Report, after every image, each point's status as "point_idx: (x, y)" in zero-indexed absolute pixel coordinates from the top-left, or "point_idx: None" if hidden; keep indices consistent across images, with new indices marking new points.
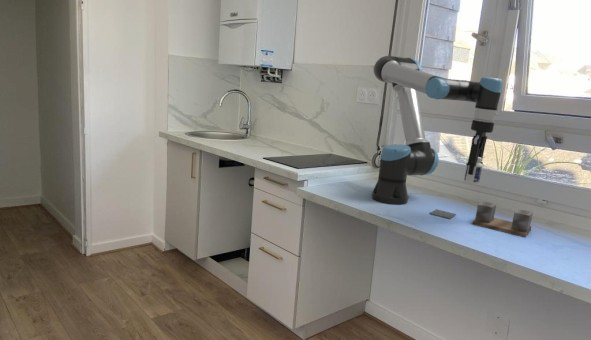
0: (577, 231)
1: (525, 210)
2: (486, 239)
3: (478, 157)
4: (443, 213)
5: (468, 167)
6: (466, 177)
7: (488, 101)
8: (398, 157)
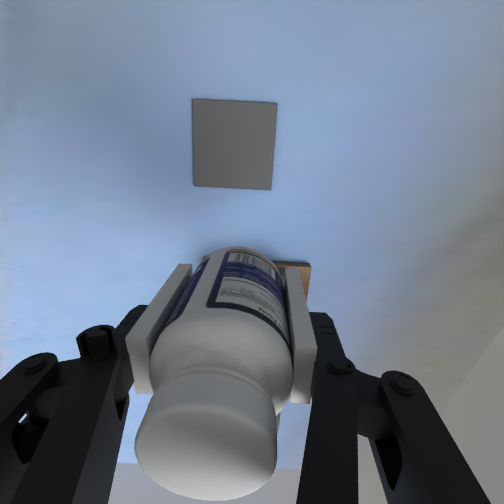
0: (370, 460)
1: (279, 416)
2: (94, 311)
3: (210, 475)
4: (236, 148)
5: (136, 326)
6: (169, 280)
7: None
8: None
